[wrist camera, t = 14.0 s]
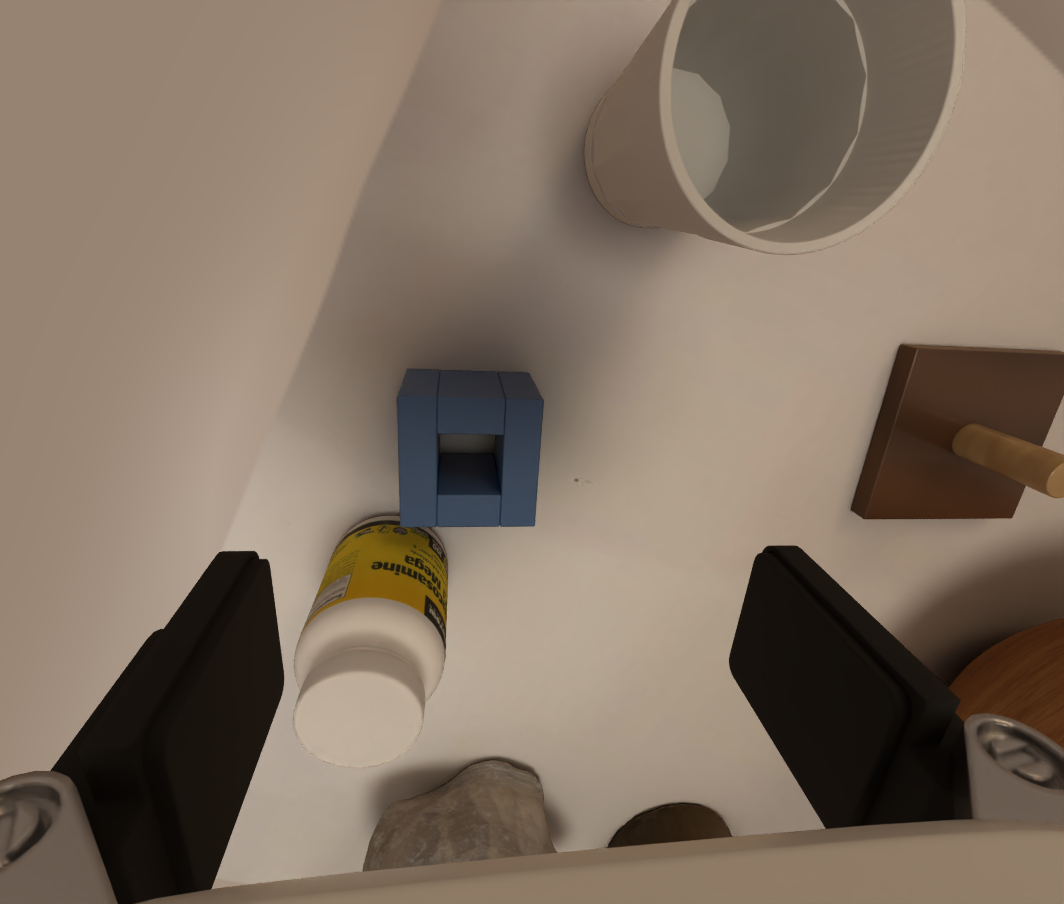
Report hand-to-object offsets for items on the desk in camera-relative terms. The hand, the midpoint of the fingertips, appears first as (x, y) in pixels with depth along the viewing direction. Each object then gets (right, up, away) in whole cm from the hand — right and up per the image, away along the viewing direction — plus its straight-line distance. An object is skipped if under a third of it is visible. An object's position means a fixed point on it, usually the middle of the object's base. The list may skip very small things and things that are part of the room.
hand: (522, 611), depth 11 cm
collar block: (-3, +4, +18) cm, 18 cm away
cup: (+6, +17, +14) cm, 23 cm away
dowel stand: (+25, +4, +22) cm, 33 cm away
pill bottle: (-8, -3, +20) cm, 22 cm away
